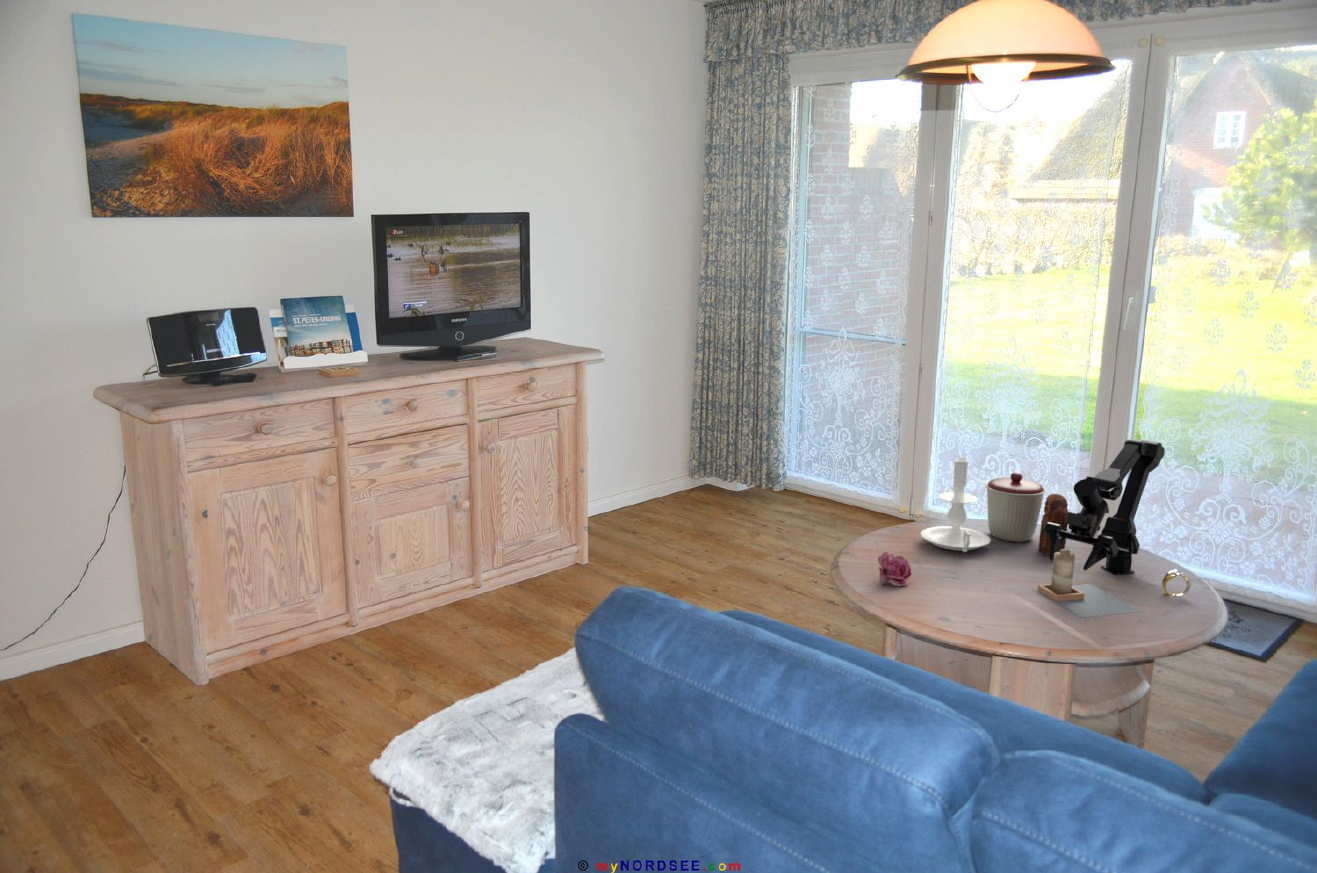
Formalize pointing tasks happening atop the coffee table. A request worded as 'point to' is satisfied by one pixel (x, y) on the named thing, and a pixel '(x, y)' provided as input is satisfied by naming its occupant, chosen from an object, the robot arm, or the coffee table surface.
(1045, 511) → the wooden figurine
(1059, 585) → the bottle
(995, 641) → the coffee table surface
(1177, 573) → the ring
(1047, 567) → the coffee table surface
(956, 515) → the candlestick
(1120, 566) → the robot arm
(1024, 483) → the canister
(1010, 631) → the coffee table surface
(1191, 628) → the coffee table surface
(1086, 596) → the board
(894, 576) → the flower
